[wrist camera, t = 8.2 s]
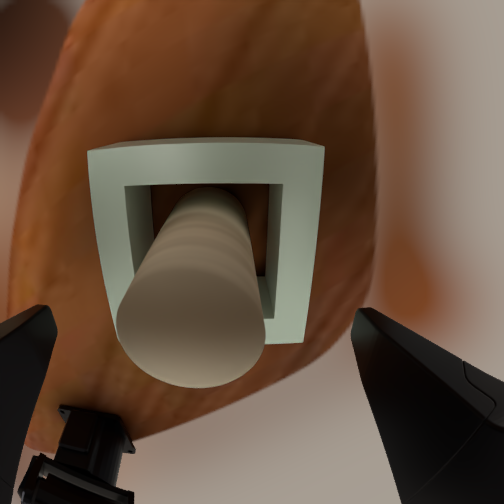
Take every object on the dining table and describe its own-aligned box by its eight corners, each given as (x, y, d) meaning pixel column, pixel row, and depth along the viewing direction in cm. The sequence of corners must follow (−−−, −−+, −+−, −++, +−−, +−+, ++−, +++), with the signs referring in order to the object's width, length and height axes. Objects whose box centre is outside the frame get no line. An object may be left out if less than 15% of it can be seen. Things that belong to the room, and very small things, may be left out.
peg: (246, 259, 17) (261, 387, 9) (173, 260, 17) (132, 384, 8) (247, 186, 15) (269, 269, 7) (168, 187, 15) (102, 269, 7)
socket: (289, 298, 18) (302, 342, 15) (137, 298, 18) (118, 341, 14) (301, 139, 15) (324, 146, 11) (120, 142, 14) (87, 150, 10)
